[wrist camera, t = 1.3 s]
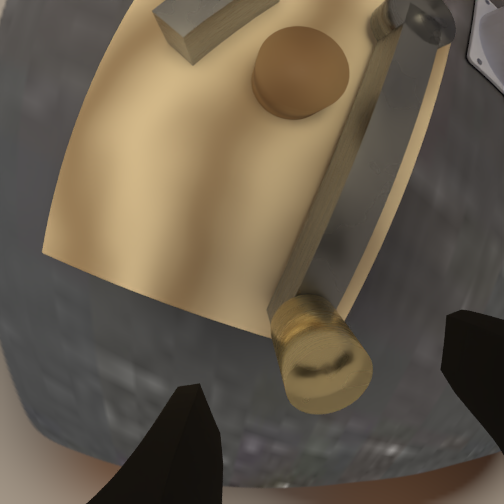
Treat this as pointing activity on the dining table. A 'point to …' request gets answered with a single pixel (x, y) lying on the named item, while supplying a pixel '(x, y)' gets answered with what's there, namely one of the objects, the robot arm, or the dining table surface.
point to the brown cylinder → (299, 72)
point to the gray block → (204, 23)
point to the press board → (209, 165)
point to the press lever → (353, 210)
